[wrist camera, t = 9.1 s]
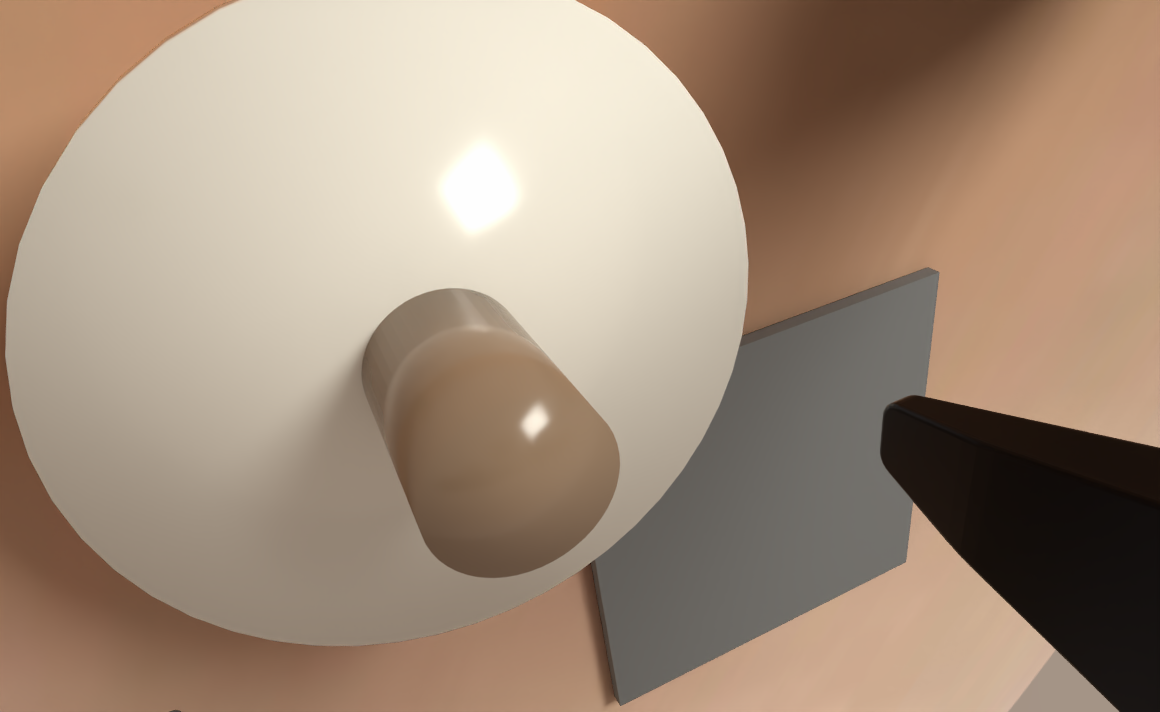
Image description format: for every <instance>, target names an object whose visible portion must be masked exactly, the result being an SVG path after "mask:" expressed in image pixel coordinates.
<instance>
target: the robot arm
mask: <svg viewBox="0 0 1160 712" xmlns="http://www.w3.org/2000/svg"><path fill="white" fill-rule="evenodd" d="M880 456H881V460H882V463H883V465H884V466H885V468H886V470H887V471H888V472H889V474H890V475H891V476H892V477H893V478H894V479H895V481H896V482H897V483H898V484H899V485H900V487H901V488H902V489H903V490H904V491H905V492H906V494H907V495H908V496H909V497H910V498H911V499H912V501H913V502H914V503H915V504H916V505H917V507H918V508H919V509H920V510H921V511H922V512H923V514H924V515H925V516H926V517H927V518H928V520H929V521H930V522H931V523H932V524H933V525H934V527H935V528H936V529H937V530H938V531H939V532H940V534H941V535H942V536H943V537H944V538H945V540H946V541H947V542H948V543H949V544H950V545H951V546H952V547H953V549H954V550H955V551H956V552H957V553H958V554H959V555H960V556H961V557H962V558H963V559H964V560H965V561H966V562H967V563H968V564H969V565H970V566H971V567H972V568H973V569H974V570H975V571H976V572H977V573H978V574H979V575H980V576H981V577H982V578H983V579H984V580H985V581H986V582H987V583H988V584H989V585H990V586H991V587H992V588H993V589H994V590H995V591H996V592H997V593H998V594H999V595H1000V596H1001V597H1002V598H1003V599H1004V600H1005V601H1006V602H1007V603H1008V604H1010V605H1011V606H1012V607H1013V608H1014V609H1015V610H1016V611H1017V612H1018V613H1019V614H1020V615H1021V616H1022V617H1023V618H1024V619H1025V620H1026V621H1027V622H1028V623H1029V624H1030V625H1031V626H1032V627H1033V628H1034V629H1035V630H1036V631H1037V632H1038V633H1039V634H1040V635H1041V636H1042V637H1043V638H1044V639H1045V640H1046V641H1048V642H1049V643H1050V644H1051V645H1052V646H1053V647H1054V648H1055V649H1056V650H1057V651H1058V652H1059V653H1060V654H1061V655H1062V656H1063V657H1064V658H1065V659H1066V660H1067V661H1068V662H1069V663H1070V664H1071V665H1072V666H1073V667H1074V668H1075V669H1077V671H1079V673H1080V674H1081V675H1083V676H1084V677H1085V678H1086V679H1087V680H1088V681H1089V682H1090V683H1091V684H1092V685H1093V686H1094V687H1095V688H1096V689H1097V690H1098V691H1099V692H1100V693H1101V694H1102V695H1103V696H1104V697H1105V698H1106V699H1107V700H1108V701H1109V702H1110V703H1111V704H1112V705H1113V706H1114V707H1115V708H1116V709H1117V710H1119V712H1160V448H1158V447H1154V446H1149V445H1145V444H1140V443H1135V442H1131V441H1126V440H1122V439H1117V438H1112V437H1108V436H1103V435H1098V434H1094V433H1089V432H1085V431H1080V430H1075V429H1071V428H1066V427H1062V426H1057V425H1052V424H1048V423H1043V422H1038V421H1034V420H1029V419H1025V418H1020V417H1015V416H1011V415H1006V414H1001V413H997V412H992V411H988V410H983V409H978V408H974V407H969V406H965V405H960V404H955V403H951V402H946V401H942V400H937V399H932V398H928V397H923V396H918V395H910V396H907V397H904V398H902V399H900V400H897V401H895V402H892V403H890V404H889V405H887V406H886V408H885V409H884V411H883V418H882V430H881V442H880ZM170 712H181V711H179V710H173V711H170Z"/></svg>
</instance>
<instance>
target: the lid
mask: <svg viewBox="0 0 1160 712" xmlns="http://www.w3.org/2000/svg"><path fill="white" fill-rule="evenodd" d="M747 291H748V252H747V241H746V230H745V222H744V218H743V213H742V209H741V204H740V200H739V195H738V191H737V186H736V184H735V181H734V178H733V176H732V173H731V170H730V167H729V165H728V162H727V159H726V156H725V154H724V151H723V149H722V147H721V145H720V143H719V141H718V139H717V137H716V136H715V134H714V132H713V130H712V128H711V126H710V124H709V122H708V121H707V119H706V117H705V115H704V113H703V112H702V110H701V109H700V108H699V106H698V105H697V104H696V102H695V101H694V99H693V98H692V97H691V95H690V94H689V93H688V91H687V90H686V89H685V87H684V86H683V85H682V83H681V82H680V80H679V79H678V78H677V77H676V76H675V75H674V74H673V73H672V72H671V71H670V70H669V69H668V68H667V67H666V66H665V65H664V64H663V63H662V62H661V61H660V60H659V59H658V58H657V57H656V56H655V55H654V54H653V53H652V52H651V51H650V50H649V49H648V48H647V47H646V46H645V45H644V44H642V43H641V42H640V41H638V40H637V39H636V38H634V37H633V36H632V35H630V34H629V33H628V32H626V31H625V30H624V29H622V28H621V27H620V26H618V25H617V24H616V23H614V22H613V21H612V20H610V19H609V18H607V17H605V16H603V15H602V14H600V13H598V12H596V11H594V10H592V9H590V8H588V7H587V6H585V5H583V4H581V3H579V2H577V1H575V0H231V1H229V2H226V3H224V4H221V5H219V6H217V7H215V8H214V9H212V10H210V11H209V12H207V13H206V14H204V15H202V16H201V17H199V18H197V19H196V20H194V21H193V22H191V23H189V24H188V25H186V26H184V27H183V28H181V29H179V30H178V31H176V32H175V33H173V34H171V35H170V36H168V37H166V38H165V39H164V40H163V41H162V42H160V43H159V44H158V45H157V46H156V47H155V48H153V49H152V50H151V51H150V52H149V53H148V54H146V55H145V56H144V57H143V58H142V59H140V60H139V61H138V62H137V63H136V64H135V65H133V66H132V67H131V68H130V69H129V70H127V71H126V72H125V73H124V74H123V75H122V76H120V78H119V79H118V80H117V81H116V82H115V83H114V85H113V86H112V87H111V88H110V89H109V90H108V92H107V93H106V94H105V95H104V96H103V97H102V98H101V100H100V101H99V102H98V103H97V104H96V105H95V107H94V108H93V109H92V110H91V111H90V112H89V114H88V115H87V116H86V117H85V118H84V119H83V121H82V122H81V123H80V125H79V127H78V128H77V130H76V132H75V133H74V135H73V137H72V138H71V140H70V142H69V143H68V145H67V146H66V148H65V150H64V151H63V153H62V155H61V156H60V158H59V160H58V161H57V163H56V164H55V166H54V168H53V169H52V171H51V173H50V175H49V176H48V178H47V180H46V182H45V183H44V185H43V187H42V189H41V191H40V194H39V196H38V199H37V201H36V204H35V206H34V209H33V211H32V214H31V216H30V219H29V221H28V224H27V226H26V229H25V231H24V234H23V236H22V239H21V241H20V243H19V247H18V252H17V257H16V261H15V266H14V271H13V275H12V280H11V285H10V290H9V294H8V299H7V318H6V348H5V358H6V365H7V372H8V379H9V386H10V393H11V400H12V407H13V411H14V414H15V417H16V420H17V423H18V426H19V429H20V432H21V435H22V438H23V441H24V444H25V447H26V450H27V453H28V456H29V458H30V460H31V462H32V464H33V466H34V468H35V470H36V472H37V473H38V475H39V477H40V479H41V481H42V483H43V485H44V487H45V488H46V490H47V492H48V494H49V496H50V498H51V500H52V501H53V502H54V504H55V505H56V506H57V508H58V509H59V510H60V512H61V513H62V514H63V516H64V517H65V518H66V519H67V521H68V522H69V523H70V525H71V526H72V527H73V529H74V530H75V531H76V532H77V534H78V535H79V536H80V538H81V539H82V540H83V541H84V542H85V543H87V544H88V545H89V546H90V547H91V548H92V549H93V550H94V551H95V552H96V553H97V554H98V555H99V556H100V557H101V558H102V559H103V560H104V561H105V562H107V563H108V564H109V565H110V566H111V567H112V568H113V569H114V570H115V571H116V572H118V573H119V574H121V575H122V576H124V577H125V578H126V579H128V580H129V581H131V582H132V583H134V584H135V585H136V586H138V587H139V588H141V589H142V590H144V591H145V592H146V593H148V594H149V595H151V596H152V597H154V598H156V599H158V600H160V601H162V602H164V603H166V604H168V605H170V606H172V607H174V608H176V609H177V610H179V611H181V612H183V613H185V614H187V615H189V616H191V617H194V618H197V619H199V620H202V621H205V622H208V623H210V624H213V625H216V626H219V627H221V628H224V629H227V630H230V631H233V632H237V633H241V634H246V635H250V636H254V637H259V638H263V639H267V640H272V641H278V642H287V643H296V644H305V645H313V646H364V645H374V644H385V643H396V642H402V641H407V640H412V639H417V638H423V637H428V636H433V635H438V634H441V633H445V632H448V631H452V630H455V629H458V628H462V627H465V626H469V625H472V624H475V623H478V622H481V621H483V620H486V619H488V618H491V617H493V616H496V615H498V614H501V613H503V612H506V611H508V610H511V609H513V608H515V607H517V606H519V605H521V604H523V603H525V602H527V601H529V600H531V599H533V598H535V597H537V596H539V595H541V594H543V593H545V592H547V591H548V590H550V589H552V588H553V587H555V586H556V585H558V584H560V583H561V582H563V581H565V580H566V579H568V578H569V577H571V576H573V575H574V574H576V573H578V572H579V571H580V570H582V569H583V568H584V567H586V566H587V565H588V564H590V563H591V562H592V561H594V560H595V559H596V558H598V557H599V556H600V555H602V554H603V553H604V552H606V551H607V550H608V549H609V548H611V547H612V546H613V545H614V544H615V543H616V542H617V541H618V540H620V539H621V538H622V537H623V536H624V535H625V534H626V533H627V532H629V531H630V530H631V529H632V528H633V527H634V526H635V525H636V524H637V523H638V522H639V521H640V520H641V519H642V518H643V517H644V516H645V515H646V513H647V512H648V511H649V510H650V509H651V508H652V507H653V506H654V505H655V504H656V503H657V502H658V501H659V500H660V499H661V497H662V496H663V495H664V493H665V492H666V491H667V490H668V488H669V487H670V486H671V484H672V483H673V482H674V481H675V479H676V478H677V477H678V475H679V474H680V473H681V472H682V470H683V469H684V467H685V466H686V464H687V463H688V461H689V459H690V458H691V456H692V455H693V453H694V452H695V450H696V448H697V447H698V445H699V444H700V442H701V440H702V439H703V437H704V435H705V433H706V431H707V429H708V427H709V425H710V423H711V421H712V419H713V417H714V415H715V413H716V411H717V409H718V407H719V405H720V403H721V400H722V397H723V395H724V392H725V390H726V387H727V384H728V382H729V379H730V377H731V374H732V371H733V367H734V363H735V360H736V356H737V352H738V349H739V345H740V341H741V337H742V331H743V325H744V318H745V311H746V305H747Z"/></svg>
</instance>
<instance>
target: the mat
mask: <svg viewBox="0 0 1160 712" xmlns="http://www.w3.org/2000/svg"><path fill="white" fill-rule="evenodd" d="M938 280H939V272H938V271H935V270H933V269H931V268H929V267H928V268H925V269H922V270H920V271H917V272H914V273H912V274H909V275H906V276H904V277H901V278H898V279H895V280H893V281H890V282H887V283H885V284H882V285H879V286H876V287H874V288H871V289H868V290H866V291H863V292H860V293H858V294H855V295H852V296H849V297H847V298H844V299H841V300H839V301H836V302H833V303H830V304H828V305H825V306H822V307H820V308H817V309H814V310H812V311H809V312H806V313H803V314H801V315H798V316H795V317H793V318H790V319H787V320H785V321H782V322H779V323H776V324H774V325H771V326H768V327H766V328H763V329H760V330H757V331H755V332H752V333H749V334H747V335H744V336H742V337H741V341H740V345H739V349H738V352H737V356H736V360H735V363H734V367H733V371H732V374H731V377H730V379H729V382H728V384H727V387H726V390H725V392H724V395H723V397H722V400H721V403H720V405H719V407H718V409H717V411H716V413H715V415H714V417H713V419H712V421H711V423H710V425H709V427H708V429H707V431H706V433H705V435H704V437H703V439H702V440H701V442H700V444H699V445H698V447H697V448H696V450H695V452H694V453H693V455H692V456H691V458H690V459H689V461H688V463H687V464H686V466H685V467H684V469H683V470H682V472H681V473H680V474H679V475H678V477H677V478H676V479H675V481H674V482H673V483H672V484H671V486H670V487H669V488H668V490H667V491H666V492H665V493H664V495H663V496H662V497H661V499H660V500H659V501H658V502H657V503H656V504H655V505H654V506H653V507H652V508H651V509H650V510H649V511H648V512H647V513H646V515H645V516H644V517H643V518H642V519H641V520H640V521H639V522H638V523H637V524H636V525H635V526H634V527H633V528H632V529H631V530H630V531H629V532H627V533H626V534H625V535H624V536H623V537H622V538H621V539H620V540H618V541H617V542H616V543H615V544H614V545H613V546H612V547H611V548H609V549H608V550H607V551H606V552H604V553H603V554H602V555H600V556H599V557H598V558H596V559H595V560H594V561H592V562H591V566H592V572H593V577H594V583H595V588H596V594H597V600H598V605H599V611H600V617H601V622H602V628H603V633H604V639H605V645H606V650H607V656H608V661H609V667H610V673H611V678H612V684H613V690H614V695H615V697H616V699H617V701H618V703H619V704H620V706H622V705H624V704H626V703H628V702H630V701H632V700H634V699H636V698H638V697H640V696H641V695H643V694H645V693H647V692H649V691H651V690H653V689H655V688H657V687H659V686H661V685H663V684H665V683H667V682H669V681H671V680H673V679H675V678H677V677H679V676H681V675H683V674H685V673H687V672H689V671H691V670H693V669H695V668H697V667H699V666H701V665H703V664H705V663H707V662H709V661H711V660H713V659H715V658H717V657H719V656H721V655H723V654H725V653H727V652H729V651H731V650H733V649H735V648H737V647H739V646H741V645H743V644H744V643H746V642H748V641H750V640H752V639H754V638H756V637H758V636H760V635H762V634H764V633H766V632H768V631H770V630H772V629H774V628H776V627H778V626H780V625H782V624H784V623H786V622H788V621H790V620H792V619H794V618H796V617H798V616H800V615H802V614H804V613H806V612H808V611H810V610H812V609H814V608H816V607H818V606H820V605H822V604H824V603H826V602H828V601H830V600H832V599H834V598H836V597H838V596H840V595H842V594H844V593H846V592H848V591H849V590H851V589H853V588H855V587H857V586H859V585H861V584H863V583H865V582H867V581H869V580H871V579H873V578H875V577H877V576H879V575H881V574H883V573H885V572H887V571H889V570H891V569H893V568H895V567H897V566H899V565H901V564H903V563H905V562H906V557H907V549H908V540H909V531H910V523H911V514H912V505H913V501H912V499H911V498H910V497H909V496H908V495H907V494H906V492H905V491H904V490H903V489H902V488H901V487H900V485H899V484H898V483H897V482H896V481H895V479H894V478H893V477H892V476H891V475H890V474H889V472H888V471H887V470H886V468H885V466H884V465H883V463H882V460H881V456H880V442H881V430H882V418H883V411H884V409H885V408H886V406H887V405H889V404H890V403H892V402H895V401H897V400H900V399H902V398H904V397H907V396H910V395H918V396H923V397H925V393H926V384H927V375H928V367H929V358H930V349H931V341H932V332H933V323H934V315H935V306H936V297H937V289H938Z"/></svg>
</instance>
